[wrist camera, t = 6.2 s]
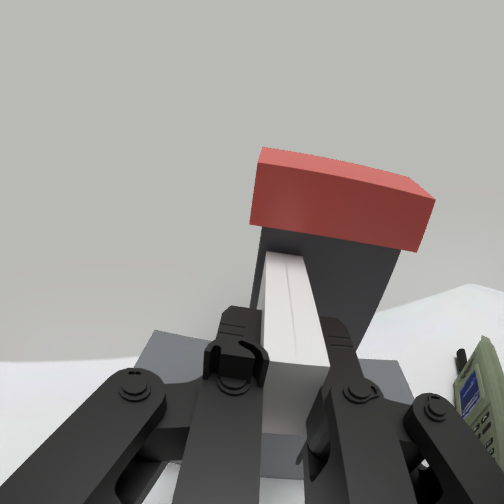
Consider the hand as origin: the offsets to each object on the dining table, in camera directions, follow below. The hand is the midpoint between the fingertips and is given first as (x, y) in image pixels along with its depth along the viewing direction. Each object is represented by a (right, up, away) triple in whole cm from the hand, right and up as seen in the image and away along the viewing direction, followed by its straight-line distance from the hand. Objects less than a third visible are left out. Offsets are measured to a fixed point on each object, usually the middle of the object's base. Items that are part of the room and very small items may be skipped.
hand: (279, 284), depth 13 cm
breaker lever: (+1, -8, +6) cm, 10 cm away
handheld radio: (+21, -17, +9) cm, 28 cm away
